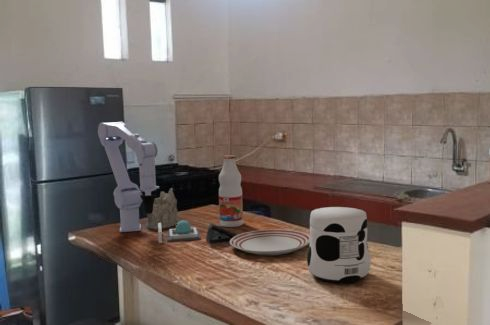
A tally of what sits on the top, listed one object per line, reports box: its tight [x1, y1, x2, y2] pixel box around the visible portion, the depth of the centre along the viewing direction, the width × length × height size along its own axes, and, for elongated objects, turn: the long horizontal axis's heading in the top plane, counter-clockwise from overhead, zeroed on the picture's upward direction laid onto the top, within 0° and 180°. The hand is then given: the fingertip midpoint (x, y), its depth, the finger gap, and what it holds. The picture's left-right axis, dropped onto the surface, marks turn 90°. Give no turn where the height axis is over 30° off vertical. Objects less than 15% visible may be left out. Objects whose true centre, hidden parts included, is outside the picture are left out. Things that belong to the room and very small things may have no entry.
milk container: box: [306, 206, 371, 283], centre depth 136 cm, size 17×17×18 cm
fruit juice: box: [218, 154, 244, 228], centre depth 196 cm, size 9×9×28 cm
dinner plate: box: [229, 228, 310, 256], centre depth 166 cm, size 27×27×3 cm
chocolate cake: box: [205, 223, 240, 246], centre depth 175 cm, size 10×7×12 cm
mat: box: [166, 226, 202, 243], centre depth 183 cm, size 12×12×2 cm
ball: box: [175, 219, 191, 235], centre depth 181 cm, size 6×6×6 cm
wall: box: [157, 223, 163, 244], centre depth 181 cm, size 14×1×4 cm, turn 10°
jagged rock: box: [144, 187, 180, 230], centre depth 202 cm, size 16×16×15 cm
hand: (149, 211), depth 183 cm, fingers open, 7 cm apart
